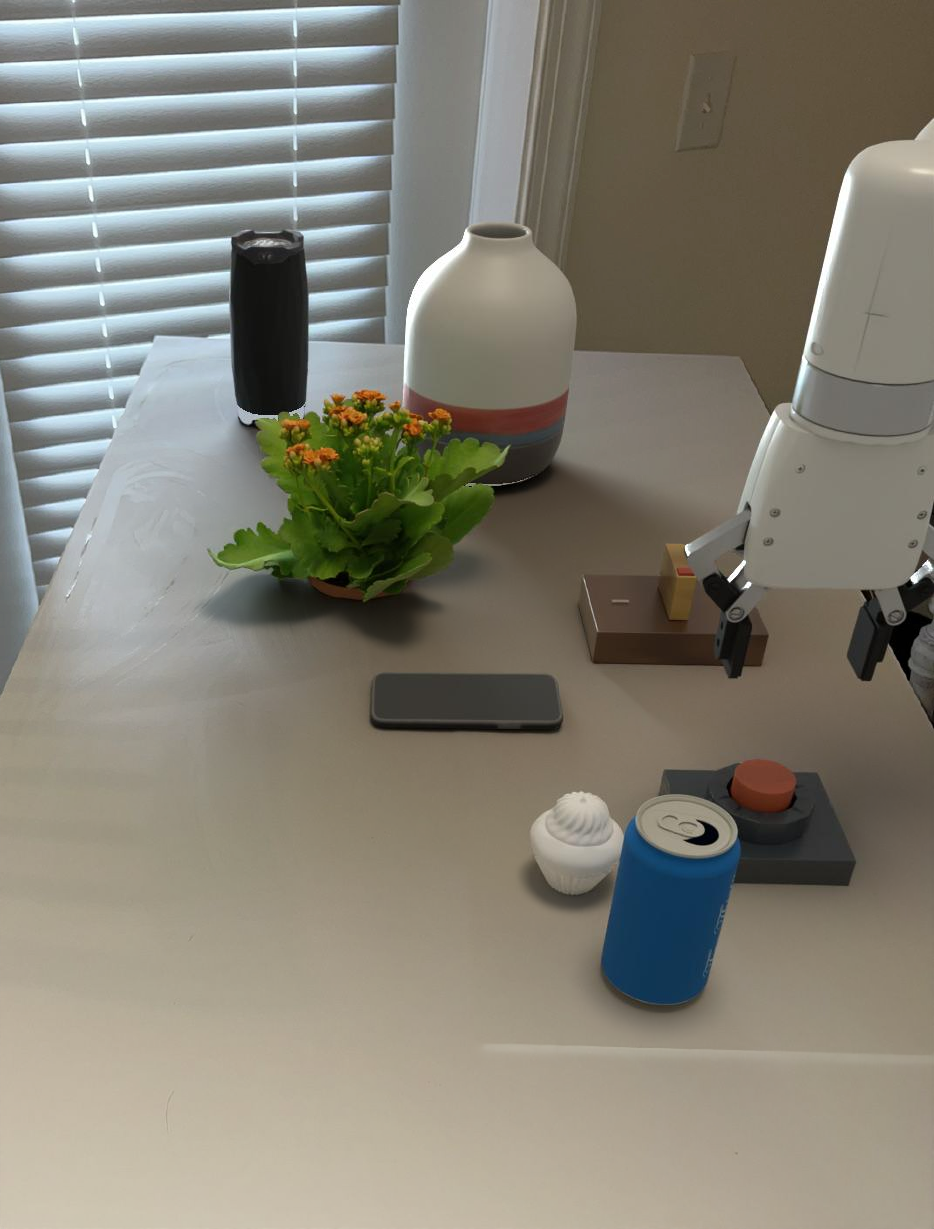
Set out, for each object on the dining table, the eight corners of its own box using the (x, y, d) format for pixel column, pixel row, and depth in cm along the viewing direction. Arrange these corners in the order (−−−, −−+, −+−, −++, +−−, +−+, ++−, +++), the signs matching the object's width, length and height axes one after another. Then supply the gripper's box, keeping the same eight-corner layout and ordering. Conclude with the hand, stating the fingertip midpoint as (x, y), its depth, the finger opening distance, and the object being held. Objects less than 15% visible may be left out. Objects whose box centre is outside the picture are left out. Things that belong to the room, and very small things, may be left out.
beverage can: (684, 1029, 79) (723, 875, 72) (583, 987, 82) (610, 835, 75) (720, 964, 84) (760, 812, 76) (622, 927, 86) (652, 777, 79)
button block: (810, 796, 97) (823, 751, 95) (848, 886, 89) (864, 840, 87) (658, 793, 98) (667, 748, 95) (682, 882, 90) (693, 836, 87)
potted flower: (281, 503, 136) (279, 327, 125) (513, 531, 131) (532, 351, 120) (200, 622, 117) (188, 428, 106) (467, 660, 112) (484, 461, 101)
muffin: (515, 897, 89) (525, 814, 84) (535, 843, 93) (546, 761, 89) (608, 919, 87) (624, 835, 83) (624, 862, 91) (640, 780, 87)
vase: (377, 483, 140) (385, 243, 125) (429, 425, 152) (442, 200, 137) (535, 510, 134) (563, 263, 120) (575, 448, 147) (605, 217, 132)
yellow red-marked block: (657, 585, 116) (665, 540, 113) (676, 585, 116) (684, 540, 113) (668, 620, 111) (677, 574, 109) (688, 620, 111) (697, 574, 108)
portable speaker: (309, 402, 157) (309, 224, 145) (306, 433, 150) (306, 249, 138) (236, 401, 158) (230, 224, 145) (230, 432, 150) (223, 248, 138)
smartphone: (371, 670, 109) (556, 671, 108) (371, 680, 110) (555, 681, 109) (370, 721, 104) (565, 723, 103) (370, 731, 104) (564, 733, 103)
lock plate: (736, 606, 119) (743, 574, 117) (761, 666, 111) (769, 632, 109) (578, 604, 120) (582, 572, 118) (592, 663, 112) (597, 629, 110)
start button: (782, 779, 93) (788, 759, 92) (797, 815, 90) (803, 794, 89) (724, 778, 93) (729, 758, 92) (736, 814, 90) (742, 793, 89)
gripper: (1001, 372, 77) (913, 641, 88) (694, 368, 77) (646, 636, 88) (1052, 422, 71) (952, 703, 82) (720, 418, 71) (665, 698, 82)
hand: (793, 667), depth 85 cm, fingers open, 7 cm apart
